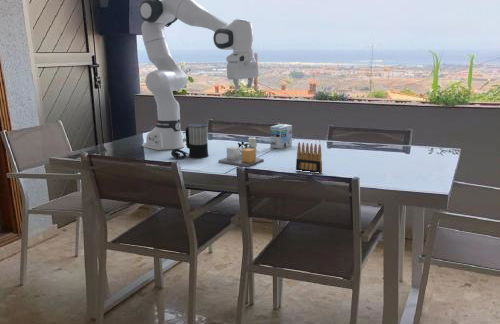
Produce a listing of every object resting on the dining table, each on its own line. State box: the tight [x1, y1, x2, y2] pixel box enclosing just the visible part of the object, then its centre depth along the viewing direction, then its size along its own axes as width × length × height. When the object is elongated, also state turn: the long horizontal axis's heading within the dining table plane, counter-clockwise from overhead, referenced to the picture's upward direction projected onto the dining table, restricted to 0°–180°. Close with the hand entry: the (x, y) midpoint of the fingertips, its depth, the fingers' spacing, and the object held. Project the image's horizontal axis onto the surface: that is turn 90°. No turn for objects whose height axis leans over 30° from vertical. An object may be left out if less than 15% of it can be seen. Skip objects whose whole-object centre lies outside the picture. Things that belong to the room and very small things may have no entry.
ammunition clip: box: [295, 141, 323, 174], centre depth 189 cm, size 11×2×12 cm, turn 61°
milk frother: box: [170, 123, 209, 159], centre depth 216 cm, size 14×16×15 cm
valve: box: [237, 136, 258, 154], centre depth 225 cm, size 7×7×12 cm
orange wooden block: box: [241, 148, 257, 162], centre depth 205 cm, size 4×4×5 cm
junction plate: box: [218, 145, 265, 168], centre depth 207 cm, size 16×12×6 cm
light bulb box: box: [269, 123, 293, 150], centre depth 238 cm, size 11×7×11 cm, turn 143°
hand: (243, 88), depth 211 cm, fingers open, 8 cm apart
